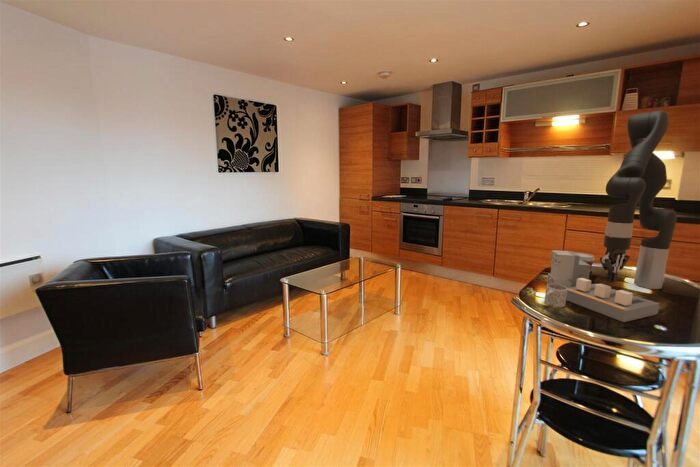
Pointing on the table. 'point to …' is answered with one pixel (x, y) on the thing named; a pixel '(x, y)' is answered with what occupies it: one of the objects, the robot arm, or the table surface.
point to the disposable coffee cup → (586, 258)
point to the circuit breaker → (567, 268)
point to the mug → (555, 295)
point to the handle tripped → (602, 290)
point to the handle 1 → (583, 284)
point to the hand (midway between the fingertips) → (611, 281)
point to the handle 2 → (623, 297)
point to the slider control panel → (613, 304)
